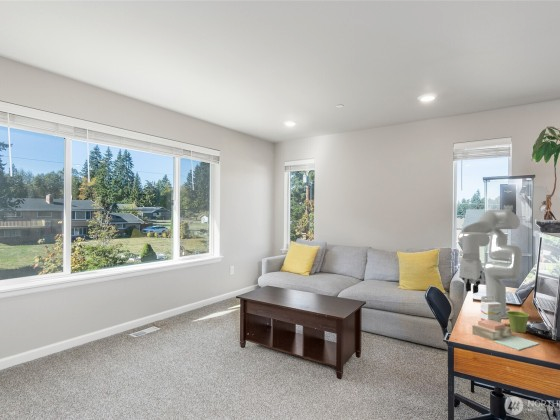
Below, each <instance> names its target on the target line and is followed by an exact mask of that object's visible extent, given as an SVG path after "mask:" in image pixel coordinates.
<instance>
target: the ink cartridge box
mask: <svg viewBox="0 0 560 420" xmlns="http://www.w3.org/2000/svg"><path fill="white" fill-rule="evenodd" d="M486 298H490V299H486ZM493 298H494V296H486V295H485V296H484V295H483V296H481V298H480V321H483V320H487V319H489V320H493V321H496V322H500V323H502V318H501V303H498V302H495V301H493Z"/></svg>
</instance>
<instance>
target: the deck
mask: <svg viewBox="0 0 560 420" xmlns="http://www.w3.org/2000/svg"><path fill="white" fill-rule="evenodd" d="M471 329H472V335H475V336H477V337H480V338H484V339H485V340H486V339H487V340H489V341H492V342H493V341H495V340H499V339H502V338H506V337H510V336H513V335H512V330H511V328H510V327H509V326H506V325H505V328H504V329H500V330H496V331H494V330H491V329H488V328H485V327H481V326H478V324H475V325H472V328H471Z"/></svg>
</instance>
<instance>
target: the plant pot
mask: <svg viewBox="0 0 560 420" xmlns="http://www.w3.org/2000/svg"><path fill="white" fill-rule="evenodd" d="M506 313H507V315H508V317H509V318H508V321H509V326H510V328H511V332H512V331H513V332H515V333H526V332H527V327H528V326H527V325H528V320H529V317H530V314H528V313H526V312H523V311H515V310H513V311H512V310H510V311H507V312H506Z"/></svg>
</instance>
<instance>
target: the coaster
mask: <svg viewBox="0 0 560 420" xmlns="http://www.w3.org/2000/svg"><path fill="white" fill-rule="evenodd" d="M477 325H478V326H481V327H485V328H488V329H491V330H494V331H496V330H500V329H504V328H505V326H506V323H503V322H501V323H500V322H496V321H493V320H489V319H487V320H483V321H481V320H479V321H477Z"/></svg>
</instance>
